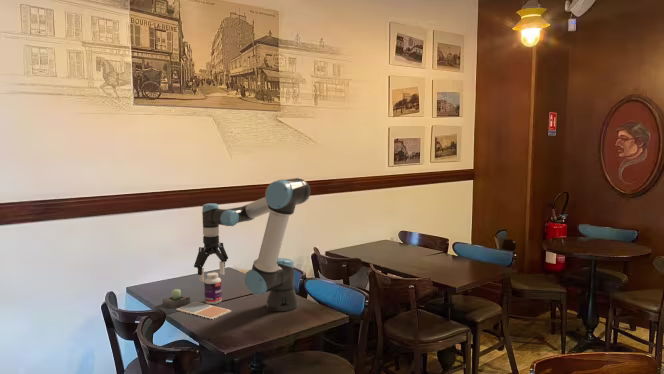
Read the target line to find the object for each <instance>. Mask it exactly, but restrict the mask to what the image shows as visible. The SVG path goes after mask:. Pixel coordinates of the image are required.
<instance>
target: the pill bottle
mask: <svg viewBox="0 0 664 374" xmlns="http://www.w3.org/2000/svg"><path fill="white" fill-rule="evenodd" d="M203 285H204V302H205V304H208V305H216V304H217V305H218V304H219V303H221V302H222V300H223V297H222V278H220V277H219V272H208V273H206V278H204V284H203Z"/></svg>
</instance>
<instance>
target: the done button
mask: <svg viewBox="0 0 664 374" xmlns="http://www.w3.org/2000/svg"><path fill="white" fill-rule="evenodd" d="M170 294H171V295H170V296H171V297H172V300H178V299H181V295H182V291H181V289H180V288H174V289H172V290H171V291H170Z"/></svg>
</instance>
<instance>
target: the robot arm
mask: <svg viewBox="0 0 664 374" xmlns="http://www.w3.org/2000/svg"><path fill="white" fill-rule="evenodd" d="M310 195H311V187H310V185H309V183H308V182H307V181H306V180H304V179H302V178H298V177H297V178H288V179H278V180H275V181H272V182H271V183H270V184H269V185H267V187H266V190H265V195H264V197H261V198H259V199H257V200H255V201H252V202H250V203H247V204H245V205H243V206H238V207H232V208H226V209H224V208H219V205H218V203H214V202H213V203H211V202H210V203H209V202H208V203H205V204H203V205H202V212H201V213H202V216H201V217H202V235H203V237H202V240H203V241H202V243H203V245H204V246H203V247H201V246H199V247H198V253H197V256H196V260H195V262H194V265H193V267H194V268H196V269H197V275H198V281H199V282H202V283H203V282H204V281H205V270H204V265H205V263H206V261H207V260H208V258H209V257H210V256H212V255H216V257H217V258H218V259H219V260H220V261H219V262H218V263H219V275H223V276H224V275H226V273H225V269H226V262H228V260H229V257H228V253H227V252H226V250H225V247H224V243H223V242H221V241H220V235H219V234H220V230H219V228H220V225H221V226H226V227H234V226H236V225H237V224H240V223H244V222H249V221H252V220H254V219H255V218H258V217H260V216H263V215H266V214H269V215H268V218H267V221H266V225H265V226H266V227H265V229H264V233H263V237H262V242H261V245H260V250H259V254H258V257H257V258H256V259H255V260H254V261H253V264H252V267H251V269H249V270H247V272H246V273H245V275H244V284H245V286H246V288H247V290H248V292H249V293H251V294H253V295H256V296H259V295H264V294H266V293H268V292H269V294H268V297H267V300H266V308H267V309H268V310H269V311H273V312H288V311H292V310H296V308H298V307H299V300H298V297H297V294H296V291H295V265H294V261H293V260H292V259H290V258H285V257H279V256H280V253H281V249H282V245H283V241H284V236H285V233H286V229H287V225H288V222H289V217H290V216H292V215H293V214H294V212H295V209H296V206H297V205H302V204H303V203H305V202H307V201H308V200H309V198H310Z"/></svg>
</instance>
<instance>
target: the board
mask: <svg viewBox="0 0 664 374" xmlns="http://www.w3.org/2000/svg"><path fill="white" fill-rule="evenodd" d="M175 311H179V312H182V313H185V312H186V314H189V313H190V314H189V315H192V314H194V315H193V316H196V315H198V317H200V316H201V318H204V317H205V318H204V319H207V318H209V319H208V320H211V319H213V320H215V319H217V318H219V316H220V317H222V316H224V315H227V314H229V313H231V312H232V310H231V309H228V308H223V307H220V306H215V305H213V304H207V303H203V302H199V301H194V302H190V303H188V304H185V305H183V306H180V307H177V308H175ZM214 318H215V319H214Z"/></svg>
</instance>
